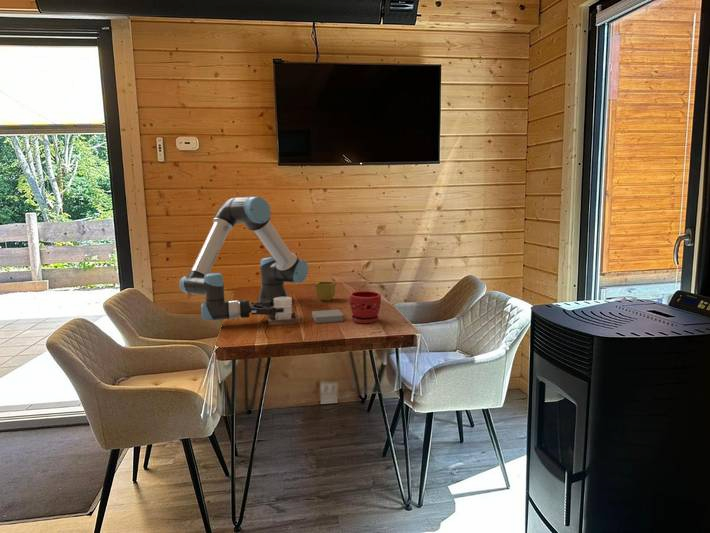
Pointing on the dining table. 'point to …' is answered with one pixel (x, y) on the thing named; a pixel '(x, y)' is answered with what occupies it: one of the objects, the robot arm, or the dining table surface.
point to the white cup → (282, 302)
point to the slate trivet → (327, 316)
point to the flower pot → (325, 290)
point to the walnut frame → (284, 320)
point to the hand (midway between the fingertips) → (290, 305)
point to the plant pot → (365, 306)
